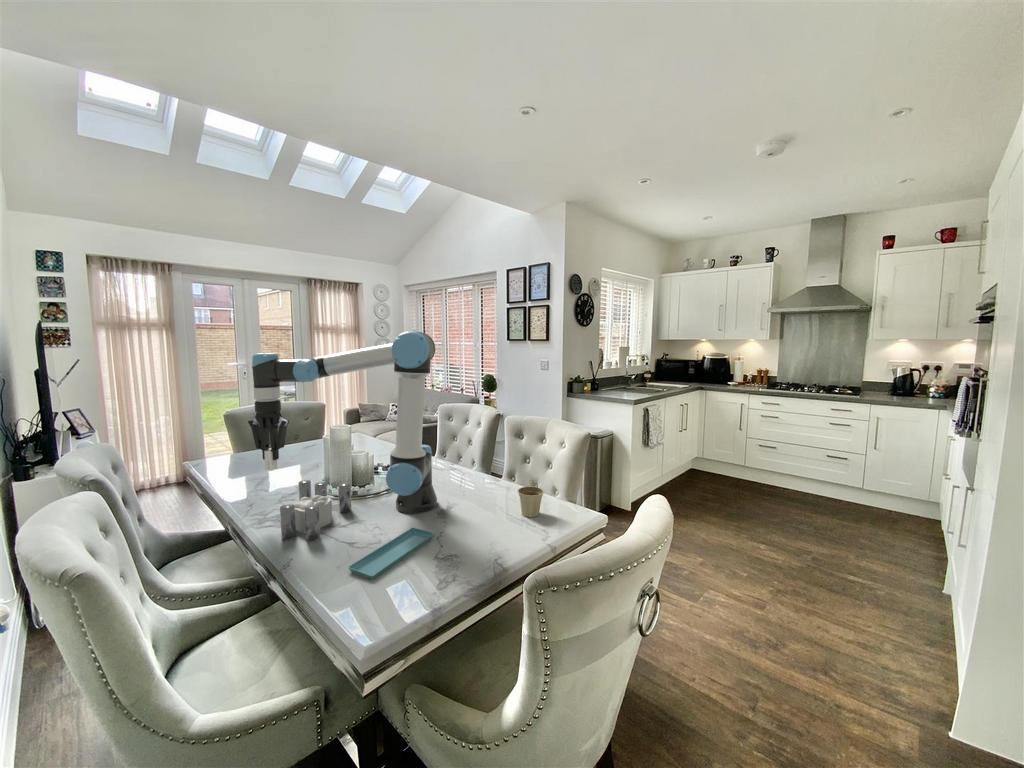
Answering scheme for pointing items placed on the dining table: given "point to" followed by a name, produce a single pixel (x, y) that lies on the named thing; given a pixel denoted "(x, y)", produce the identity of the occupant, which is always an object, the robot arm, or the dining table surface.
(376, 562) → the rectangular tray
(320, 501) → the lumpy-topped squat cylinder
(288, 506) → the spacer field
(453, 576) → the dining table surface
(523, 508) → the flower pot
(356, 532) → the dining table surface
